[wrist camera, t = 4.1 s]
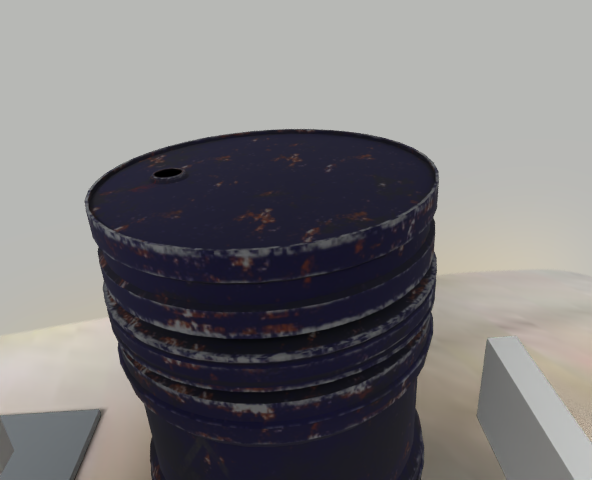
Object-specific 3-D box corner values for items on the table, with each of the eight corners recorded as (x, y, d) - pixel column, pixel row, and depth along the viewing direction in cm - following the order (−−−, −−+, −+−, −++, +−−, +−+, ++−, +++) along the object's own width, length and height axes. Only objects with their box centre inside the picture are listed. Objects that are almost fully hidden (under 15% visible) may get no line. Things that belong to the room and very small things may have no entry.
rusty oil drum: (411, 433, 25) (430, 126, 18) (426, 679, 16) (473, 259, 9) (213, 418, 26) (163, 130, 20) (129, 634, 18) (-12, 248, 11)
